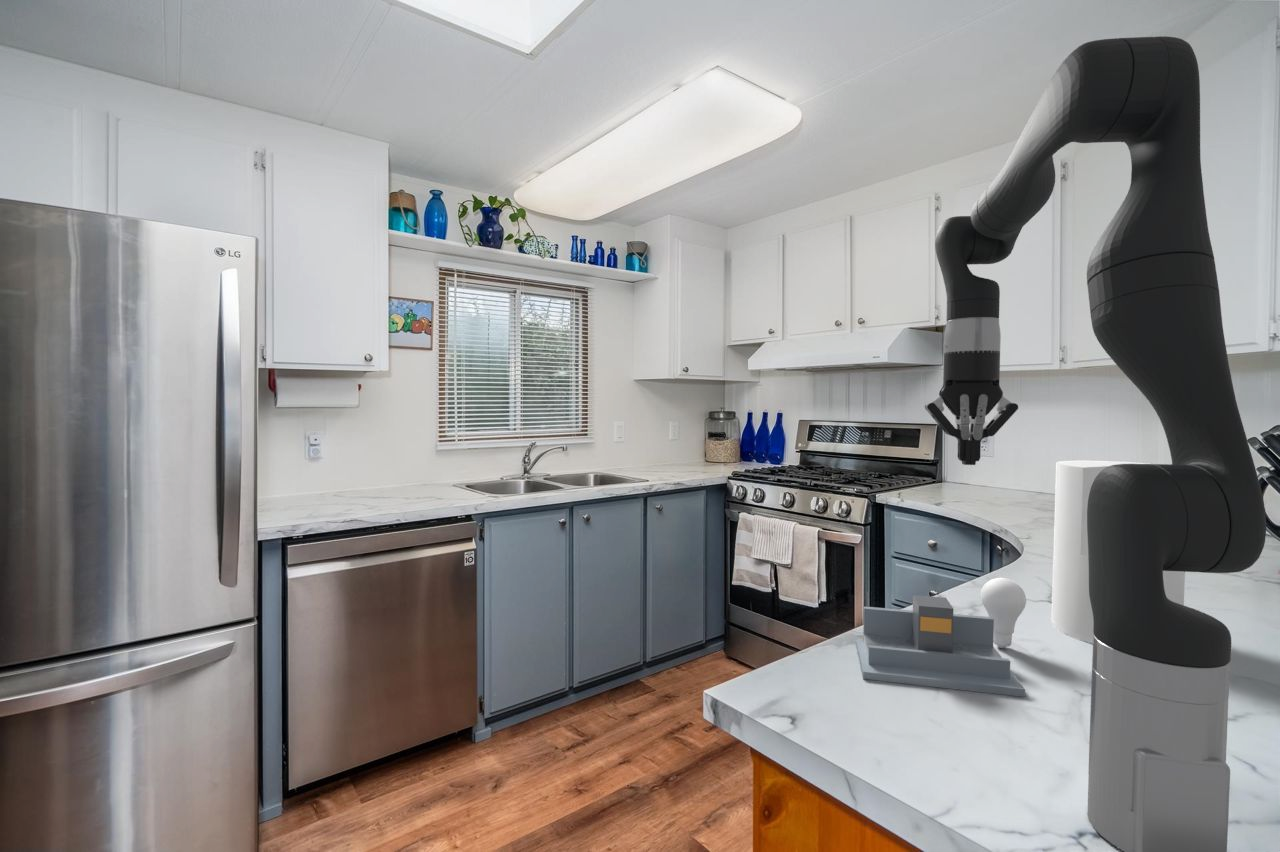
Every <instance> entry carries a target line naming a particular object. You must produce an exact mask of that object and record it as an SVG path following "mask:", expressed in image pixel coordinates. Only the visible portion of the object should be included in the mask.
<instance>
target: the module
mask: <svg viewBox="0 0 1280 852" xmlns="http://www.w3.org/2000/svg"><path fill="white" fill-rule="evenodd" d="M912 611H913V623H912V642H913V644H914V646H915V649H916V650H923V651H934V652H944V653H952V652H953V614H954V606H952V605H951V602H950V601H949V600H948V599H947V597H942V596H930V595H918V594H917V595H916V594H915V595H914V594H913V595H912Z"/></svg>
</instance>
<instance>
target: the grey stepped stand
mask: <svg viewBox="0 0 1280 852" xmlns="http://www.w3.org/2000/svg"><path fill="white" fill-rule="evenodd" d="M862 621H863V624H862V625H863V628H862V629H863V631H862V632H863V637H862V639H860V638H859V639H858V638H857V639H856V640H855V646H856V651H857V657H858V661H859V665H860V672H861V676H862V680H863V679H864V680H870V681H880V682H887V683H888V682H890V683H898V684H907V685H916V686H926V687H933V688H943V689H951V690H960V691H961V690H962V691H969V692H970V691H971V692H979V693H985V694H986V693H987V694H996V695H1003V696H1004V695H1007V696H1014V697H1015V696H1016V697H1023V698H1024V697H1026V688H1025V687H1024V686H1023V685H1022V683H1021V682H1020V681H1019V679H1018V678H1017V677H1016V675H1015V674H1014V673H1013V672H1012V669H1011V660H1010V659H1009V658H1004V657H1002V658H995V657H985V656H975V655H964V654H954V653H944V652H934V651H923V650H913V649H903V648H893V647H883V646H872V645H869V647H868V659H867V655H866V651H865V647H864V634H869V635H880V636H890V637H901V638H912V623H913V609H912V610H911V609H910V610H909V609H898V608H889V607H888V608H886V607H875V606H863V619H862ZM993 632H994V619H993V618H992V617H989V616H982V615H971V614H970V615H969V614H957V613H953V642H954V643H965V644H976V645H987V646H993V647H994V643H993Z"/></svg>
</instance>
